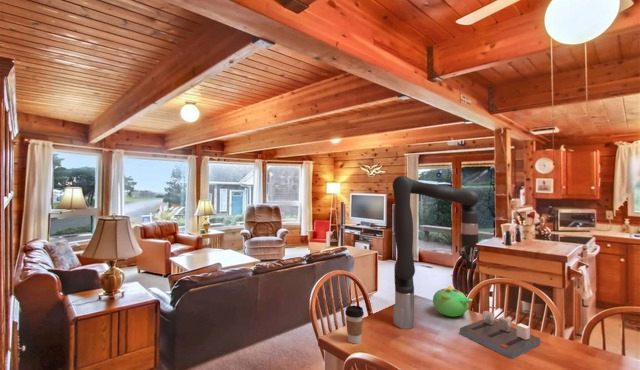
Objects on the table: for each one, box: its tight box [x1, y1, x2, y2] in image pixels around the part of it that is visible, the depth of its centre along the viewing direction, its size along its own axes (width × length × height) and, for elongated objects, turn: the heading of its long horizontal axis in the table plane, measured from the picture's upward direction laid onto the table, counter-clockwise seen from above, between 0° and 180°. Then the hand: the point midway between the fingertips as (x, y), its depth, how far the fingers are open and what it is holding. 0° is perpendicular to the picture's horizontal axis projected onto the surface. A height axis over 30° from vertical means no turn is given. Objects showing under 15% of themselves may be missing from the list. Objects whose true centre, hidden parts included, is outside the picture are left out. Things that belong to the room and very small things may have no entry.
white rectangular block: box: [516, 323, 531, 340], centre depth 138 cm, size 3×4×5 cm
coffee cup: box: [344, 305, 365, 344], centre depth 142 cm, size 8×8×15 cm
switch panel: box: [459, 310, 541, 360], centre depth 143 cm, size 22×24×8 cm
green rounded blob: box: [432, 285, 473, 317], centre depth 169 cm, size 18×17×15 cm
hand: (469, 268), depth 148 cm, fingers closed
